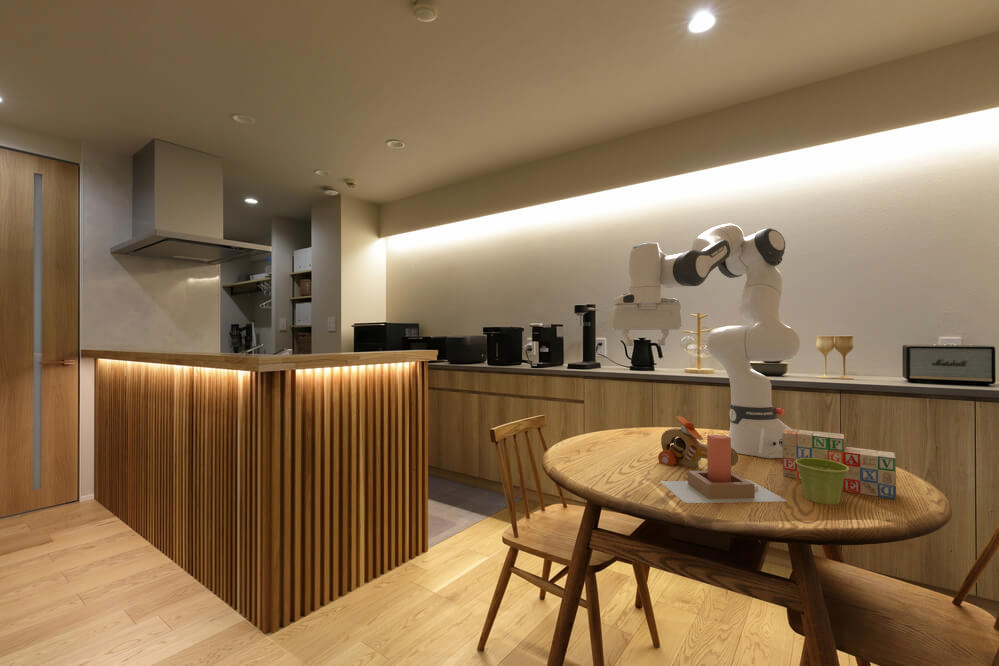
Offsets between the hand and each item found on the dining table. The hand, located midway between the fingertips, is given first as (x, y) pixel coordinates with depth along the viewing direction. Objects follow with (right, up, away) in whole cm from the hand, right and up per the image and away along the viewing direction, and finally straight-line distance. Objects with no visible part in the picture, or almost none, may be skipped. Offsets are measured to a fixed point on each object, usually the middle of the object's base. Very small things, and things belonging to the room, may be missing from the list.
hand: (645, 345), depth 132 cm
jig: (+7, -33, -30) cm, 45 cm away
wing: (+14, -32, -26) cm, 43 cm away
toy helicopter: (+9, -33, -11) cm, 36 cm away
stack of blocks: (+38, -33, -24) cm, 56 cm away
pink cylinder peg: (+7, -32, -30) cm, 44 cm away
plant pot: (+26, -33, -35) cm, 55 cm away
